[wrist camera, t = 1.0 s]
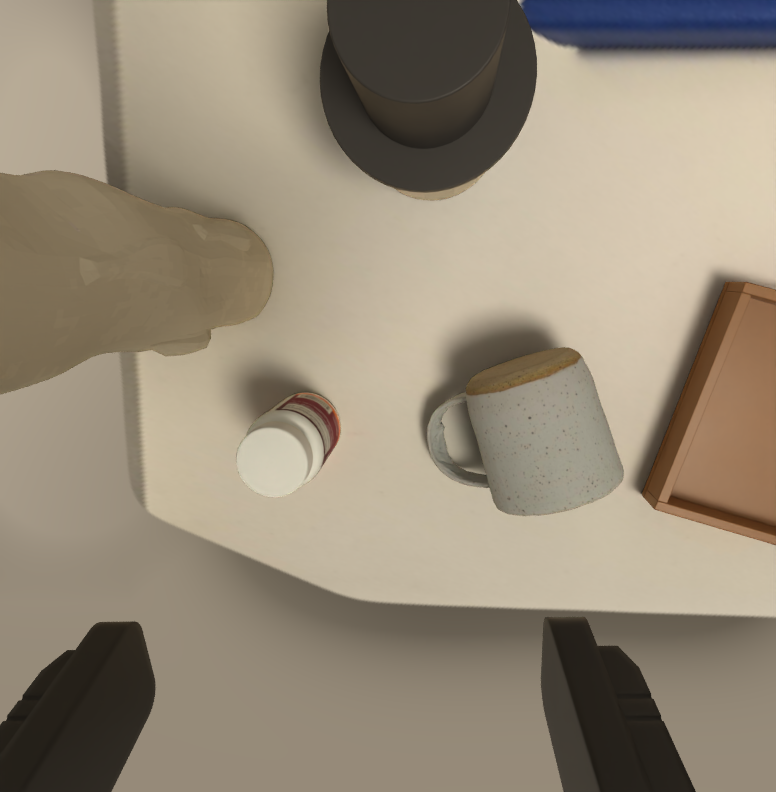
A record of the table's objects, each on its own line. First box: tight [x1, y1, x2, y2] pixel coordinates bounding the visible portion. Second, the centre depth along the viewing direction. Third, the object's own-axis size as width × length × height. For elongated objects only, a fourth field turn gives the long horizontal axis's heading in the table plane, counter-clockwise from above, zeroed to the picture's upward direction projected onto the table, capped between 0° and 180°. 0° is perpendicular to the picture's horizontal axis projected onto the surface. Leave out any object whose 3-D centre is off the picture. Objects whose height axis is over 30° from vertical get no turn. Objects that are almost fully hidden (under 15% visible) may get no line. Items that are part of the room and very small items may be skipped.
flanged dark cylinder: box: [320, 0, 537, 193], centre depth 23 cm, size 10×10×9 cm
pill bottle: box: [236, 392, 341, 497], centre depth 35 cm, size 5×5×8 cm
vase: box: [0, 170, 273, 394], centre depth 24 cm, size 9×8×30 cm
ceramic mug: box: [427, 347, 624, 516], centre depth 34 cm, size 11×8×8 cm
